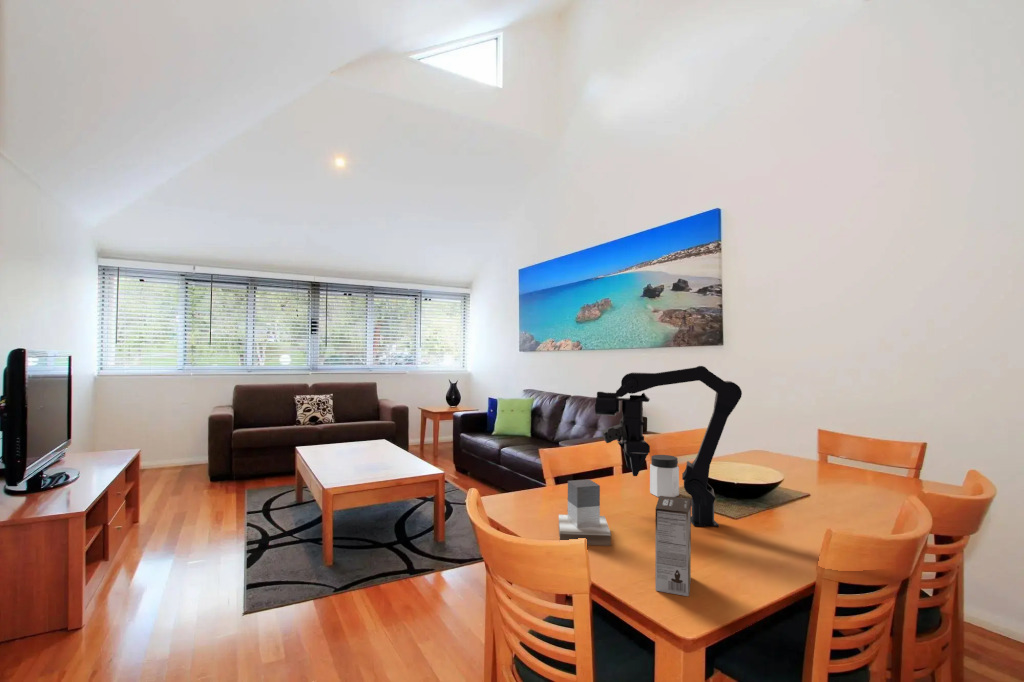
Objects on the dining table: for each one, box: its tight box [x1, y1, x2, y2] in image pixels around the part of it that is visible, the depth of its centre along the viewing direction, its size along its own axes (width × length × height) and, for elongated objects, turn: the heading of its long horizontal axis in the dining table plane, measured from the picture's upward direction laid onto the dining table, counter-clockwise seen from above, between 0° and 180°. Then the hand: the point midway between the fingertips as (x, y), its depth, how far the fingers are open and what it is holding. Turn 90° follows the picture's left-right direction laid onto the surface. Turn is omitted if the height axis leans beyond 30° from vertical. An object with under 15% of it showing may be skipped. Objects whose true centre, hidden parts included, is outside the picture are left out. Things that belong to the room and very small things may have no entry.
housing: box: [567, 478, 601, 529], centre depth 122 cm, size 6×6×10 cm
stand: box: [558, 513, 612, 547], centre depth 121 cm, size 12×12×3 cm
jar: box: [649, 454, 680, 498], centre depth 157 cm, size 9×8×12 cm
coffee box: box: [654, 496, 692, 597], centre depth 96 cm, size 9×6×16 cm
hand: (632, 471), depth 138 cm, fingers open, 9 cm apart
